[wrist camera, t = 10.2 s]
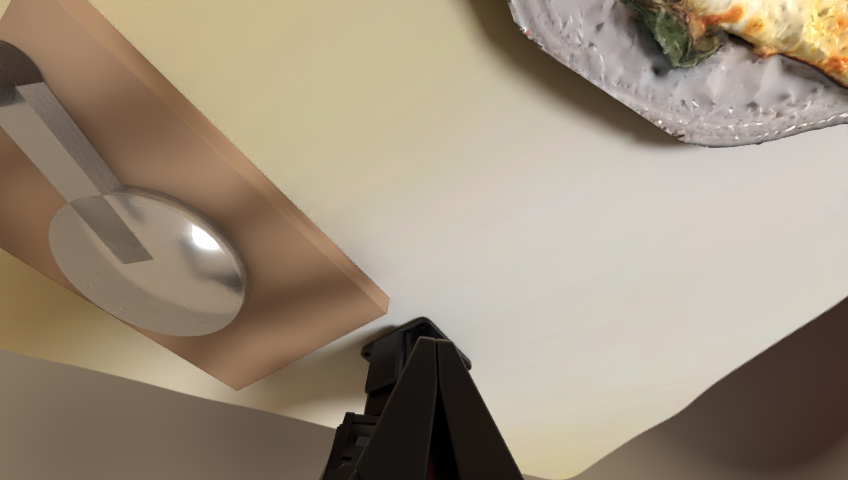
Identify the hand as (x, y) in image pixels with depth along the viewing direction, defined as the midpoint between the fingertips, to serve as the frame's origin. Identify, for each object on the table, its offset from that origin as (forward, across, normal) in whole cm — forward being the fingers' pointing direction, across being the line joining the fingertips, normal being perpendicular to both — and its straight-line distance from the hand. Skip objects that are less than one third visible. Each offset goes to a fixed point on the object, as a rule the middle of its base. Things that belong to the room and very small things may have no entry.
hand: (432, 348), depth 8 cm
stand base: (+12, +15, +8) cm, 21 cm away
